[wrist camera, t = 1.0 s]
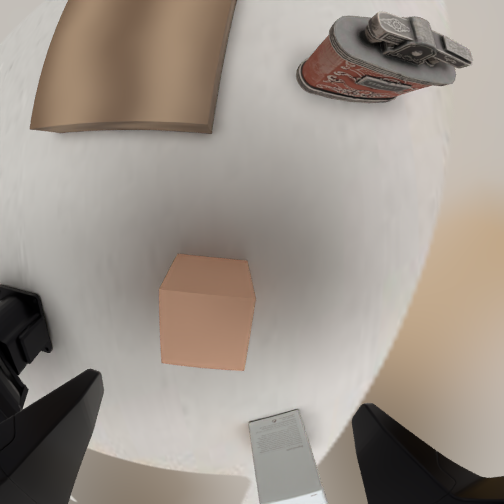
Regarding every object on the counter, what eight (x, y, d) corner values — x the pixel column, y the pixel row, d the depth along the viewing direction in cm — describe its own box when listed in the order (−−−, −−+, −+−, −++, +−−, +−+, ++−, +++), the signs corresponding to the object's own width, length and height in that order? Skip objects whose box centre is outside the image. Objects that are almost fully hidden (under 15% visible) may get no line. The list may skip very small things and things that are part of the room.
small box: (247, 420, 25) (257, 504, 15) (298, 407, 25) (323, 489, 15) (266, 452, 28) (277, 520, 18) (309, 440, 28) (329, 508, 18)
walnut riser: (59, 132, 15) (29, 129, 12) (95, 4, 12) (76, -17, 8) (211, 133, 17) (207, 124, 13) (237, -5, 13) (240, -34, 10)
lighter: (297, 97, 17) (363, 41, 7) (294, 56, 16) (348, -19, 6) (394, 108, 17) (490, 89, 8) (390, 70, 16) (476, 36, 7)
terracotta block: (175, 314, 21) (161, 363, 15) (177, 253, 19) (159, 289, 13) (239, 320, 21) (244, 370, 16) (247, 260, 20) (255, 298, 14)
